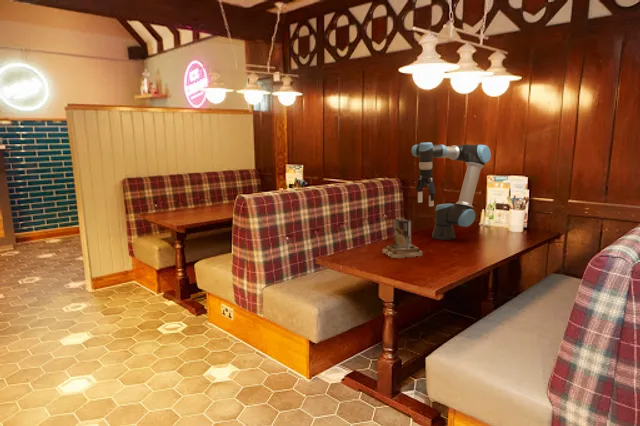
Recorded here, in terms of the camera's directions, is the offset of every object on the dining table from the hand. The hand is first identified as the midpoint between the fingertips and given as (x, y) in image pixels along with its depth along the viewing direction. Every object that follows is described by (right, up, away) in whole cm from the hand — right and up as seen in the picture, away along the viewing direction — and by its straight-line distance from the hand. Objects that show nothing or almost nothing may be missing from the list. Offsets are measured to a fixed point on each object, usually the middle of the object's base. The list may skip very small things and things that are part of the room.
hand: (425, 204), depth 260 cm
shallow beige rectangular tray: (-15, -30, -4) cm, 34 cm away
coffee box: (-15, -25, -5) cm, 30 cm away
